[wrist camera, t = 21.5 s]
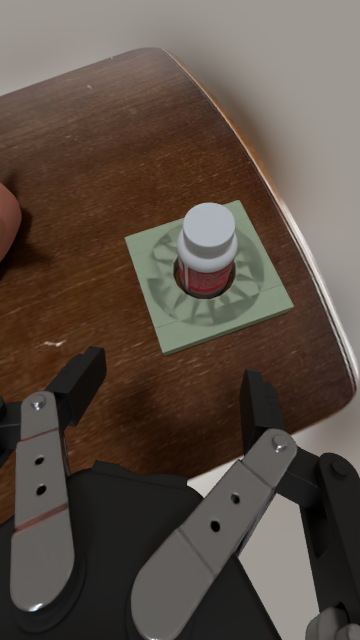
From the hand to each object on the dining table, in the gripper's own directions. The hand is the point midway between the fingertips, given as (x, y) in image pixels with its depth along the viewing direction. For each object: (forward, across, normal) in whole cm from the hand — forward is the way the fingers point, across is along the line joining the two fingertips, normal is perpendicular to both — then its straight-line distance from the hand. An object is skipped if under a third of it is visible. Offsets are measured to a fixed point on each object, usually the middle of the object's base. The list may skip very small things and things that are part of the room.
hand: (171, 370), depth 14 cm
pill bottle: (+21, -1, +2) cm, 21 cm away
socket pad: (+20, -1, +2) cm, 21 cm away
